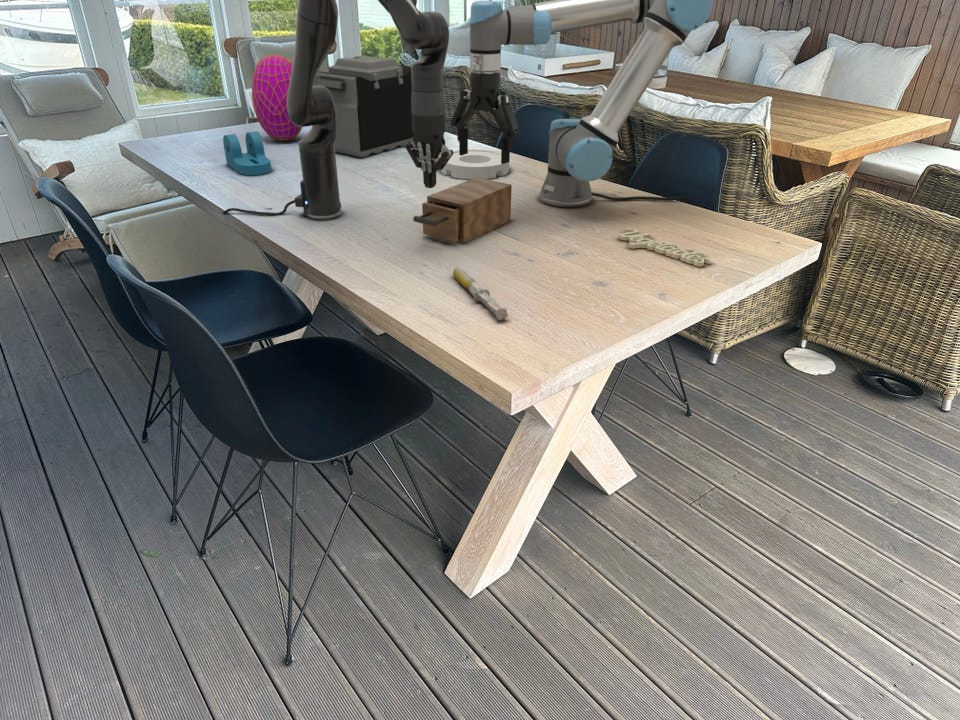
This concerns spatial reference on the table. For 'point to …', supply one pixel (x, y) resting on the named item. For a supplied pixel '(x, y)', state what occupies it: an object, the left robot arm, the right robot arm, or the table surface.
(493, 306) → the syringe
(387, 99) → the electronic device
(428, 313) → the table surface
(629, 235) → the decorative sign
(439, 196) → the cabinet
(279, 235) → the table surface
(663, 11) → the right robot arm
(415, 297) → the table surface
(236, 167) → the camera mount
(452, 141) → the table surface
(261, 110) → the decorative egg
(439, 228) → the drawer
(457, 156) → the ashtray
